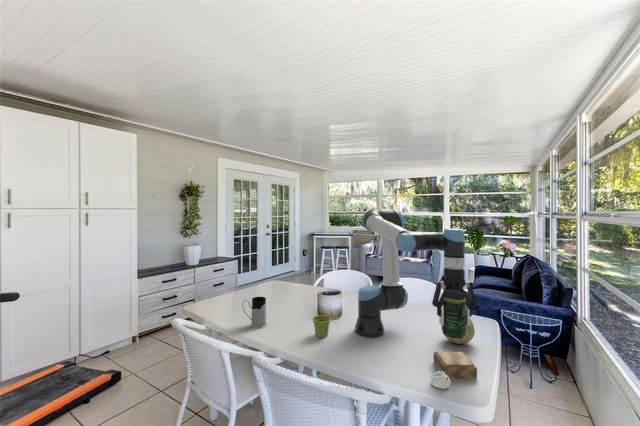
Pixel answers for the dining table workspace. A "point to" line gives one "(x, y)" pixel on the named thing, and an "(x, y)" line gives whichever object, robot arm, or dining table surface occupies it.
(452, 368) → the walnut pedestal block
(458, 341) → the cantaloupe
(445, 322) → the coffee jar
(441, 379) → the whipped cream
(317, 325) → the plant pot
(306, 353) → the dining table surface
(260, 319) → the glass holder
